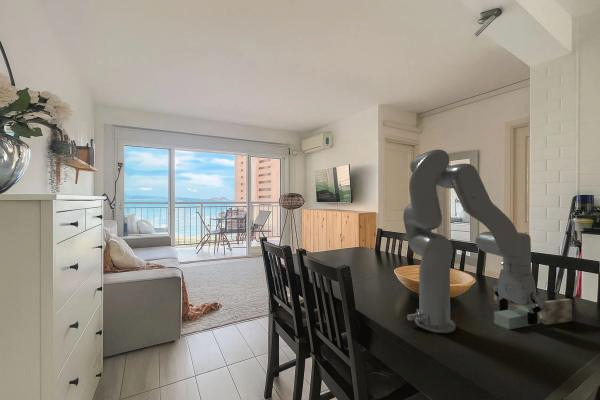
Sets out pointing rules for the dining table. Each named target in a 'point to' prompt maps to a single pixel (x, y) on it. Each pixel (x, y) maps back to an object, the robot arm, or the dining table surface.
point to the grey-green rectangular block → (513, 318)
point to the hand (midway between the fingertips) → (517, 317)
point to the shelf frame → (549, 310)
